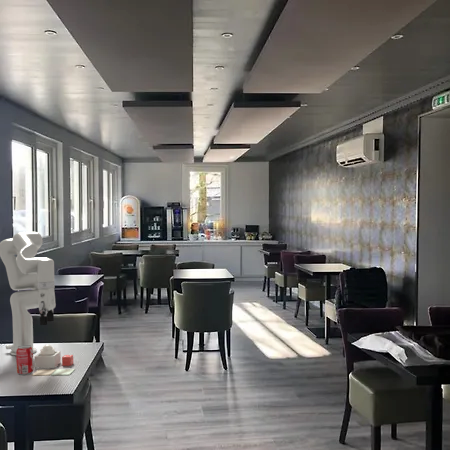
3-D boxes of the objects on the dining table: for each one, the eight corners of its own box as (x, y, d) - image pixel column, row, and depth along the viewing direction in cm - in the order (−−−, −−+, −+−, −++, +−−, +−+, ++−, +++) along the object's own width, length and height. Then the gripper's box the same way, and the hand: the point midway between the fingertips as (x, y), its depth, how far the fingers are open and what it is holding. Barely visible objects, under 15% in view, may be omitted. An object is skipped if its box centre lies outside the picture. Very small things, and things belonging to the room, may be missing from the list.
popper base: (34, 368, 245) (34, 356, 245) (41, 362, 254) (41, 351, 254) (54, 368, 245) (54, 356, 245) (60, 362, 254) (60, 351, 254)
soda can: (29, 370, 243) (28, 343, 243) (36, 373, 238) (35, 346, 238) (14, 373, 238) (13, 346, 238) (20, 376, 233) (20, 349, 233)
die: (62, 365, 249) (61, 356, 249) (64, 363, 253) (64, 354, 253) (70, 365, 249) (70, 356, 249) (73, 363, 253) (73, 354, 253)
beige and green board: (31, 375, 234) (31, 374, 234) (38, 370, 242) (38, 369, 242) (69, 375, 234) (69, 374, 234) (74, 369, 242) (74, 369, 242)
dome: (38, 357, 247) (38, 346, 247) (43, 354, 253) (43, 343, 253) (52, 357, 247) (51, 346, 246) (56, 353, 253) (56, 343, 253)
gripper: (47, 287, 240) (48, 326, 241) (60, 282, 258) (61, 319, 258) (31, 288, 241) (32, 327, 241) (44, 283, 258) (45, 319, 258)
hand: (47, 322), depth 249 cm, fingers open, 7 cm apart
